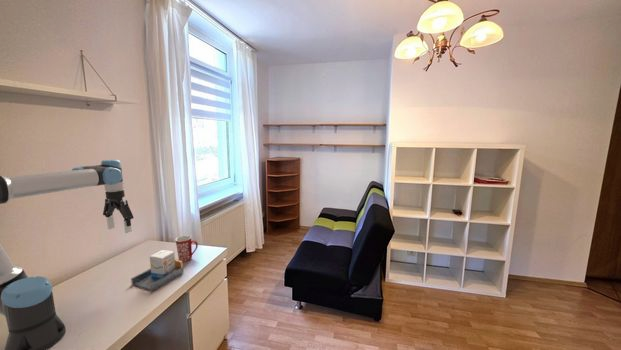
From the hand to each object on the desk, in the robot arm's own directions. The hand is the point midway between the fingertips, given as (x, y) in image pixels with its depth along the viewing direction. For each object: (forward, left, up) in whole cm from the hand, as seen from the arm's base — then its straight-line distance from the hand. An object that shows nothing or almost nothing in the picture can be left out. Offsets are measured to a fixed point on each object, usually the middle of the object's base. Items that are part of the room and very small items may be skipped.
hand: (119, 230), depth 130 cm
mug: (+28, -14, -27) cm, 41 cm away
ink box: (+9, -17, -26) cm, 32 cm away
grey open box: (+6, -17, -27) cm, 32 cm away
